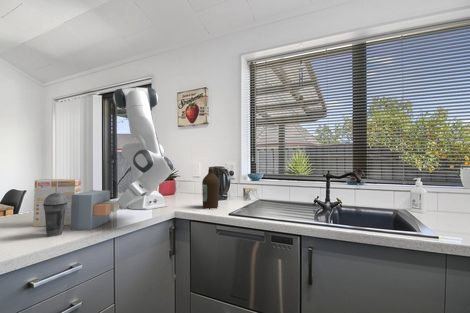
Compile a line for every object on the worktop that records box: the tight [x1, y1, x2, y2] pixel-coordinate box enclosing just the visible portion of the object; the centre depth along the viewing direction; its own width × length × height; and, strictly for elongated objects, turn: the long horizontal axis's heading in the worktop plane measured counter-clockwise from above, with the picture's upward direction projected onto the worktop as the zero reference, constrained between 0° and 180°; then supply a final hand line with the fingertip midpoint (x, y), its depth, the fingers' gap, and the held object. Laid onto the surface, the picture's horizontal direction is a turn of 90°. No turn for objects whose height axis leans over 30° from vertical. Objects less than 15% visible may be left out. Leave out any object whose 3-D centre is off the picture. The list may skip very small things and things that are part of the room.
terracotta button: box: [93, 204, 112, 215], centre depth 96 cm, size 6×4×4 cm, turn 91°
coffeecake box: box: [32, 178, 82, 228], centre depth 100 cm, size 15×7×20 cm, turn 105°
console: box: [70, 189, 111, 231], centre depth 99 cm, size 8×14×14 cm, turn 1°
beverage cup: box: [43, 181, 67, 237], centre depth 86 cm, size 7×7×20 cm
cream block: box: [103, 200, 120, 213], centre depth 103 cm, size 6×4×4 cm, turn 91°
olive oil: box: [201, 166, 220, 210], centre depth 141 cm, size 11×11×25 cm
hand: (121, 207), depth 103 cm, fingers closed
